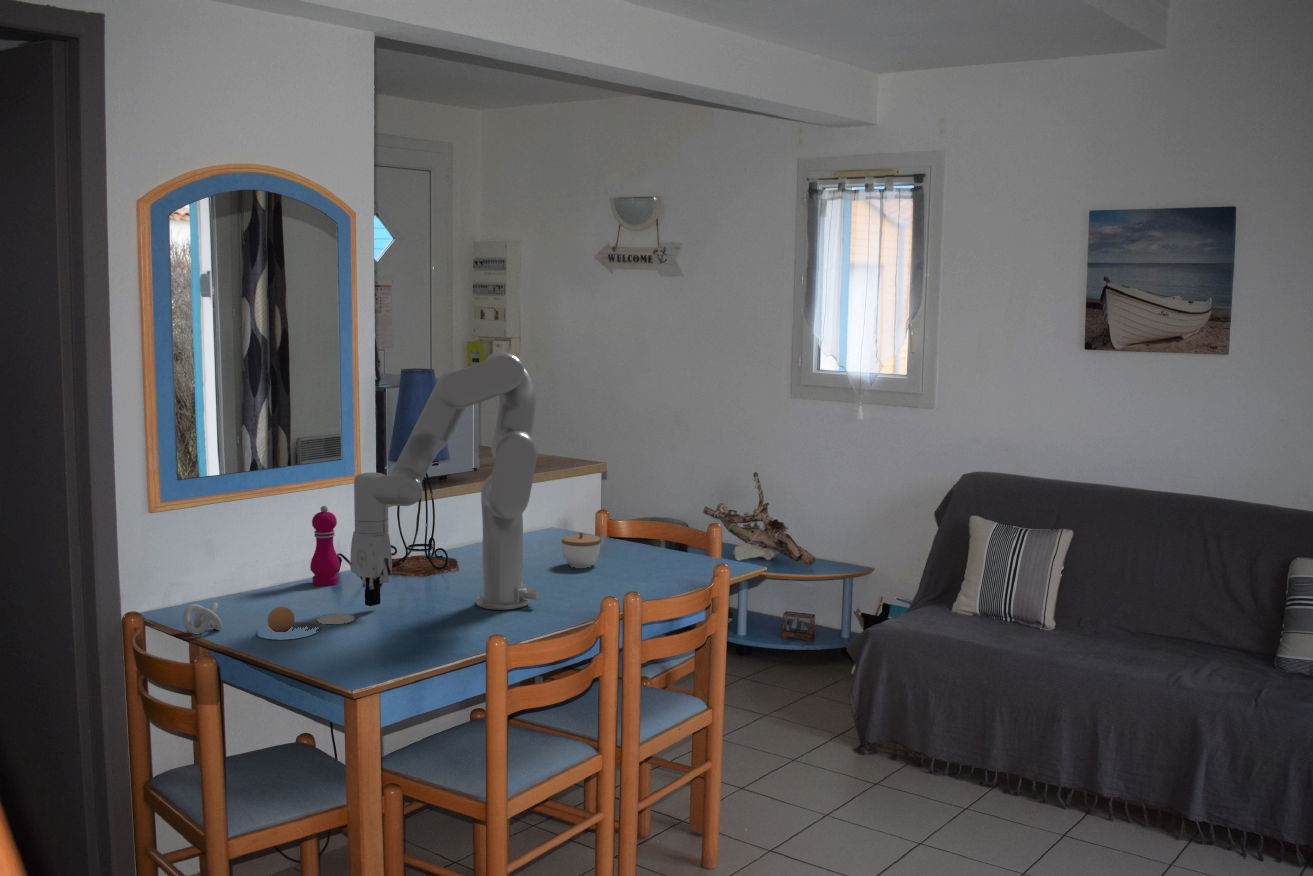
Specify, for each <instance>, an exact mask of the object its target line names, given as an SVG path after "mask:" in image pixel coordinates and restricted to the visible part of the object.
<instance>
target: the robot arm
mask: <svg viewBox="0 0 1313 876" xmlns="http://www.w3.org/2000/svg"><path fill="white" fill-rule="evenodd" d="M534 385H535V384H534V383H533V379H532V378H531V376H530V374H529V372H528V370H526V368H525V367H524V364H523V362H522V361H521V360H520V358H518V357H517V356H516V355H514V354H512V353H510V352H506V351H497V352H492V353H491V354H489V355H488V356H487V357H486V358H485V360H483V361H481V362H478V363H475V364H473V365H470V366H468V367H465V368H462V369H454V368H453V369H449V370H446V371H445V372H443V373H442V374H441V375H440V376H439V377H438V379H437V381H436V383H435V385H434V387H433V389H432V390H431V393H430V395H429V397H428V399H427V402H426V404H425V405H424V407H423V409H422V411H421V414H420V415H419V417H418V419H417V421H416V424H415V425H414V427H413V429H412V430H411V433H410V436H409V438H408V440H407V441H406V443H405V445H404V447H403V449H402V450H401V453H400V454H399V455H398V456H399V457H398V458H397V461H396V463H395V465H394V467H393V468H392V470H391V473H390V475H386V474H384V473H381V472H363V473H359V474H357V475H355V477H354V480H353V481H354V482H353V490H354V491H353V494H354V495H353V498H354V499H353V502H354V531H353V532H352V537H351V544H350V558H349V559H350V561H349V562H350V571H351V572H352V574H354V575H355V576H356V577H358V578H359V579H361V582H362V587H363V588H364V605H365V606H368V607H374V606H377V605H380V604H381V588H382V587H383V584H386V583H390V579H389V576H390V575H392V571H393V558H392V556H393V555H392V545H391V538H390V534H389V506H390V505H391V506H398V507H410V506H413V505H415V504H417V503H418V502H419V501H420V500H421V498H422V496H423V490H424V489H423V484H422V483H423V480H424V479H425V476H426V474H427V473H428V471H429V468H430V467H431V465H432V463H433V461H434V460H435V458H436V457H437V455H439V453H440V451H442V450H443V449H444V448H445V447H446V446H447V445H448V443H449V442H450V440H451V438H452V437H453V434H454V433H455V430H456V428H457V426H458V424H459V422H460V420H461V418H462V416H463V414H464V412H465V410H466V408H468V407H471V406H473V405H477V404H480V403H482V402H485V401H487V400H490V399H493V398H495V397H498V398H499V406H498V410H497V420H496V425H495V428H494V434H493V440H492V443H491V455H492V456H493V459H494V460H493V467H492V473H491V474H490V475H489V476H488V477H487V478H486V479H485V481H484V482H483V485H482V487H481V492H480V501H481V517H482V594H481V595H479V596H477V598H476V599H475V604H476V605H477V607H479V608H482V609H488V610H494V611H497V610H499V611H501V610H502V611H504V610H505V611H506V610H508V611H509V610H515V609H521V608H524V607H526V606H528V605H529V604H530V600H531V601H538V600H539V597H540V595H539V594H540V593H539V591H538V590H537V589H529V588H527V583H526V582H525V583H523V582H524V581H523V579H524V578H523V576H524V573H523V572H524V569H523V568H524V565H523V564H524V562H523V561H524V556H523V555H524V554H523V553H524V551H523V550H524V548H523V547H524V544H523V543H524V517H523V516H524V515H523V513H524V512H525V511H526V509H527V507H528V505H529V502H530V497H531V493H532V492H531V491H532V488H533V483H534V482H533V481H534V477H535V476H534V475H535V471H536V466H537V459H538V458H537V456H538V454H537V453H538V450H537V446H536V443H535V441H534V440H533V438H532V435H533V428H534V421H535V414H536V404H537V403H536V401H537V398H536V397H537V396H536V389H535V386H534Z"/></svg>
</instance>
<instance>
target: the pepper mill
mask: <svg viewBox="0 0 1313 876" xmlns="http://www.w3.org/2000/svg"><path fill="white" fill-rule="evenodd" d="M328 510H329V508H328V505H327V506H326V505H322V506H321V507H320V512H317V513H315V514H314V515H313V517H312V519H311V525H312V527H313V529H314V532H313V533H314V538H315V541H316V543H315V544H316V545H315V550H314V553H313V556H312V558H311V561H310V564H309V565H310V566H309V567H310V571H311V572H312V573H313V574H314V576H312V584H313V585H314V586H318V587H328V586H330V587H331V586H334V585H337V584H338V583H339V575H337V573H338V571H340V568H341V563H340V559H339V557H338V555H337V553H336V549H335V545H334V537H336V534H335V532H336V531H335V530H334V529H335V528H336V526H337V524H338V522H337V521H338V520H337V517H336V515H335V514H334V513H332V512H330V511H328Z"/></svg>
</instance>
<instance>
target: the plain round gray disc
mask: <svg viewBox="0 0 1313 876" xmlns="http://www.w3.org/2000/svg"><path fill="white" fill-rule="evenodd" d="M317 621H318V622H319V624H320V623H322V624H321V625H325V624H339V625H344V623H345V624H348V622H349V623H351V622H350V621H352V622H353V621H355V616H354V615H351V614H348V613H334V614H333V613H331V614H326V615H323V616H320V617H318V618H317V620H316V622H317ZM318 622H317V623H318Z"/></svg>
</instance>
